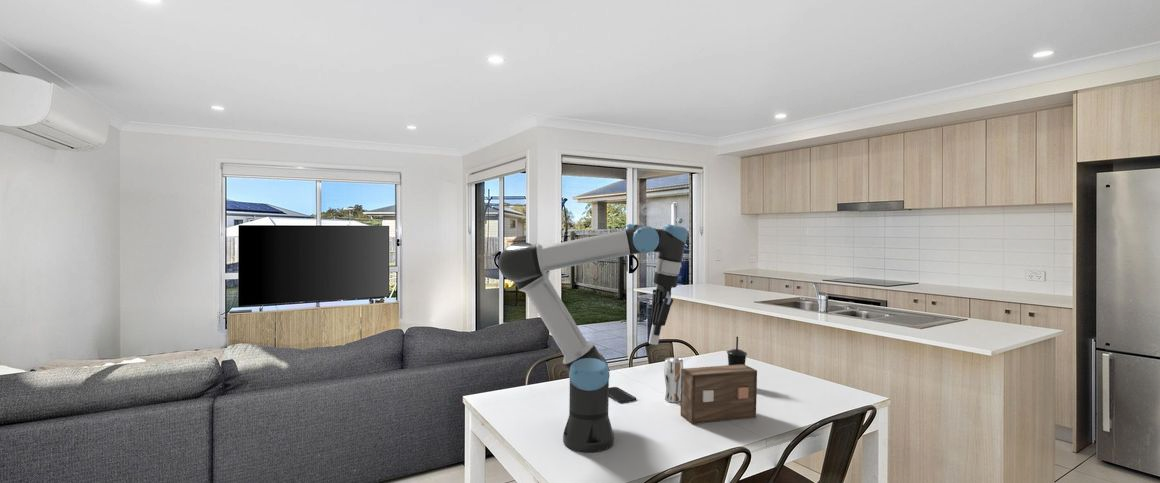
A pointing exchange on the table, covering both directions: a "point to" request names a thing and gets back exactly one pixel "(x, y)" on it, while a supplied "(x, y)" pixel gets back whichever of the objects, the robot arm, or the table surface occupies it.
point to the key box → (718, 393)
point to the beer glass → (673, 379)
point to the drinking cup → (736, 355)
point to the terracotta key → (742, 392)
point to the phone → (620, 395)
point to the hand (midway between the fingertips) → (653, 343)
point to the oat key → (707, 395)
